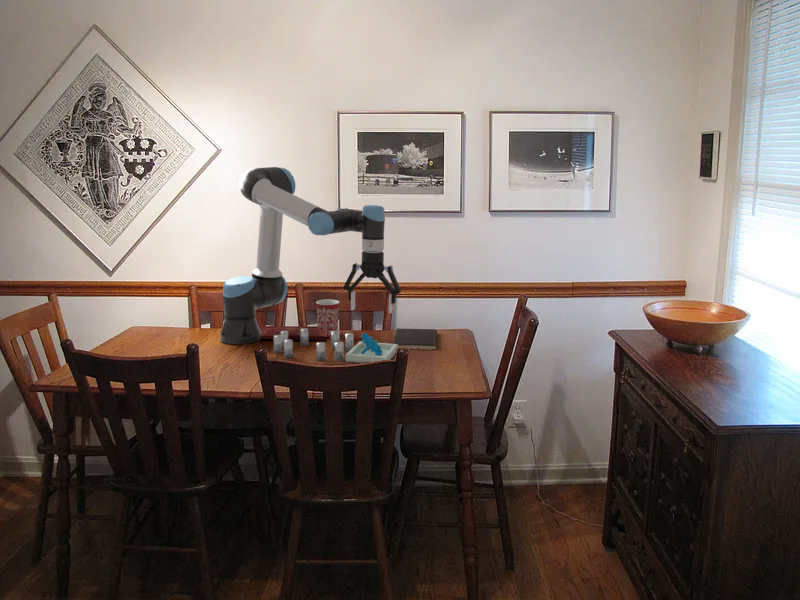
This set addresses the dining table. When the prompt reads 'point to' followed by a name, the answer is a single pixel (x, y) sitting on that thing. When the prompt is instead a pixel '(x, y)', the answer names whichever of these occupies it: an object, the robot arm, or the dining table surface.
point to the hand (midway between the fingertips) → (371, 311)
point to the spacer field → (287, 344)
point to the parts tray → (370, 353)
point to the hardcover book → (416, 338)
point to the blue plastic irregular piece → (371, 345)
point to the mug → (327, 315)
